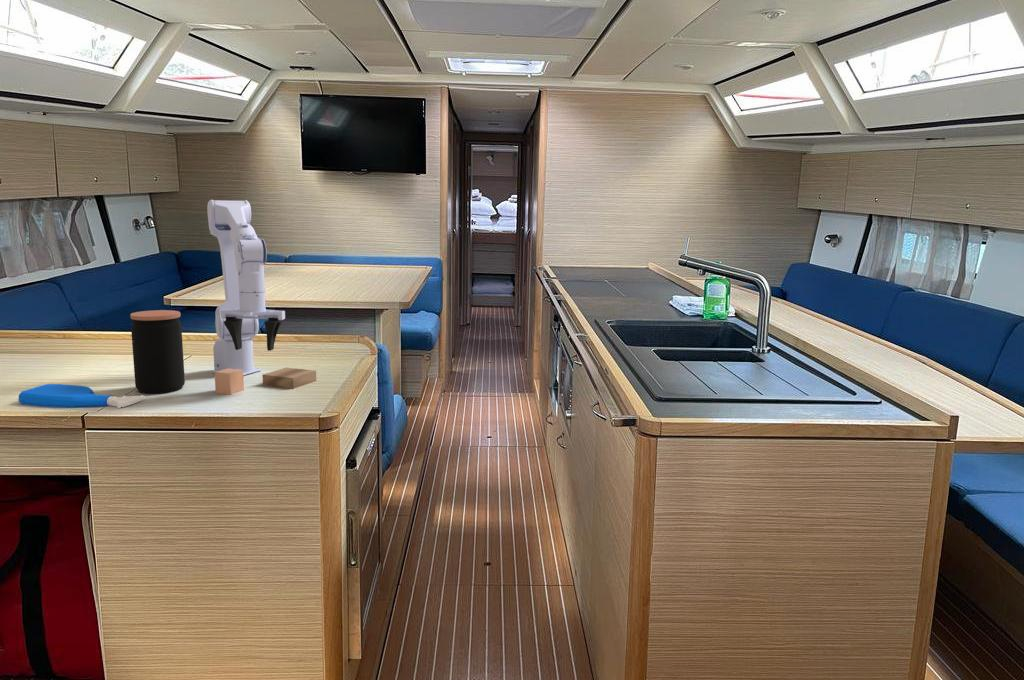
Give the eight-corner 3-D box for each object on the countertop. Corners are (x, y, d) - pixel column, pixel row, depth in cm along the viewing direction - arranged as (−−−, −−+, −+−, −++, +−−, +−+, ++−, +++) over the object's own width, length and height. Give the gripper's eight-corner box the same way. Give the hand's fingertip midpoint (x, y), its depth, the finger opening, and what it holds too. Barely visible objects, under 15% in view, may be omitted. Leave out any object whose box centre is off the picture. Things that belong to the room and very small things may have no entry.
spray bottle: (12, 393, 165) (116, 401, 161) (50, 382, 175) (149, 389, 171) (13, 406, 165) (117, 415, 161) (51, 394, 176) (149, 402, 172)
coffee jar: (195, 386, 184) (190, 311, 181) (161, 396, 174) (156, 317, 171) (159, 382, 187) (154, 309, 184) (124, 392, 177) (118, 314, 174)
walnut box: (262, 386, 187) (262, 374, 186) (286, 379, 195) (286, 367, 194) (293, 390, 183) (293, 378, 183) (316, 382, 191) (316, 370, 191)
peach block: (215, 392, 178) (214, 371, 177) (229, 388, 182) (228, 368, 181) (230, 394, 177) (229, 373, 176) (244, 390, 181) (243, 369, 180)
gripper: (213, 292, 174) (216, 351, 177) (276, 294, 174) (278, 353, 176) (227, 289, 181) (229, 346, 184) (287, 290, 181) (289, 347, 183)
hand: (254, 349), depth 180 cm, fingers open, 7 cm apart
